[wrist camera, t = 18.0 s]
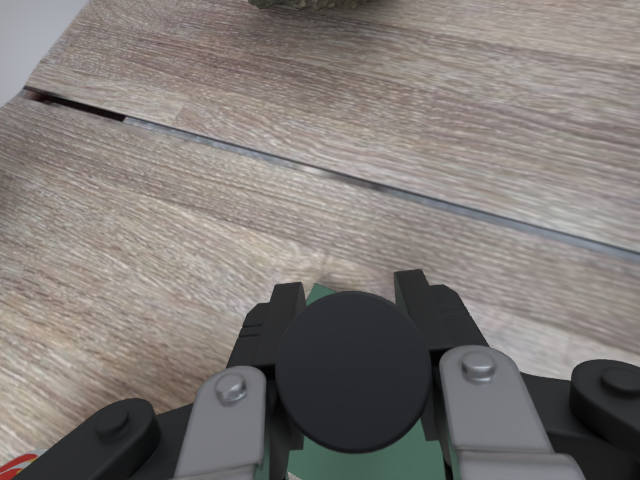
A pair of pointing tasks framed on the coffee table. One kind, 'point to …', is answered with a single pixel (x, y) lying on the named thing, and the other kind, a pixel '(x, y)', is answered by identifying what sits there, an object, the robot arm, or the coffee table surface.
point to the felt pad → (372, 468)
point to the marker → (353, 372)
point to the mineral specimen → (308, 4)
